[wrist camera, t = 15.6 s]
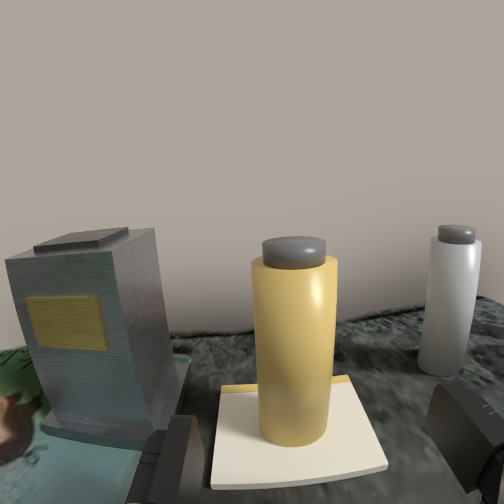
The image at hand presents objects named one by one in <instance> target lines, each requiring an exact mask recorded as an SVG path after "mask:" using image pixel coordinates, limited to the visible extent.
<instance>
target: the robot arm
mask: <svg viewBox="0 0 504 504" xmlns="http://www.w3.org/2000/svg"><path fill="white" fill-rule="evenodd" d="M426 429H427V431H428V433H429V435H430V437H431V438H432V440H433V441H434V443H435V444H436V446H437V447H438V449H439V451H440V452H441V454H442V455H443V457H444V458H445V460H446V462H447V463H448V465H449V466H450V468H451V470H452V471H453V473H454V474H455V476H456V478H457V479H458V481H459V482H460V484H461V486H462V487H463V489H464V491H465V492H466V494H468V493H470V492H472V491H474V490H476V489H479V490H480V494H479V495H478V498H477V502H476V504H504V420H503V419H502V418H501V417H500V416H499V415H498V414H497V412H494V409H493V408H492V407H491V406H490V405H489V406H488V403H487V402H486V401H485V400H484V399H483V398H482V397H481V395H479V394H477V393H475V392H473V391H471V390H469V389H468V390H467V389H466V388H465V387H464V386H463V385H462V384H461V383H460V382H459V381H458V380H452V381H448V382H445V383H441V384H438V385H436V387H435V388H434V391H433V395H432V399H431V402H430V406H429V409H428V413H427V416H426ZM203 469H204V448H203V443H202V439H201V435H200V430H199V426H198V421H197V418H196V416H195V415H172V416H171V418H170V421H169V424H168V428H167V430H155V431H154V432H153V434H152V435H151V436H150V437H149V438H148V439H147V440H146V443H145V445H144V448H143V451H142V454H141V457H140V460H139V464H138V466H137V469H136V472H135V475H134V478H133V481H132V484H131V487H130V490H129V493H128V496H127V499H126V501H125V503H124V504H199V501H200V493H201V485H202V477H203Z"/></svg>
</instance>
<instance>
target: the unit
mask: <svg viewBox="0 0 504 504" xmlns="http://www.w3.org/2000/svg"><path fill="white" fill-rule="evenodd" d="M5 264H6V268H7V274H8V278H9V283H10V287H11V292H12V296H13V300H14V304H15V307H16V311H17V314H18V318H19V322H20V325H21V329H22V332H23V335H24V338H25V341H26V344H27V347H28V350H29V353H30V356H31V359H32V362H33V365H34V367H35V370H36V373H37V375H38V378H39V380H40V383H41V385H42V388H43V390H44V393H45V395H46V397H47V400H48V402H49V404H50V406H51V411H50V412H49V413H48V415H47V416H46V417H45V419H44V420H43V421H42V423H41V426H42V428H43V430H44V432H45V434H48V435H52V436H57V437H61V438H66V439H70V440H75V441H80V442H86V443H91V444H97V445H103V446H110V447H117V448H124V449H132V450H142V451H143V448H144V445H145V443H146V440H147V439H148V438H149V437H150V436H151V435H152V434H153V432H154V431H155V430H167V428H168V424H169V421H170V418H171V416H172V415H180V411H181V408H182V404H183V400H184V397H185V393H186V389H187V386H188V382H189V379H190V375H191V369H190V363H175V360H174V355H173V350H172V345H171V340H170V334H169V328H168V323H167V317H166V311H165V305H164V298H163V292H162V285H161V278H160V271H159V263H158V255H157V247H156V239H155V230H154V228H146V229H135V230H128V227H123V228H113V229H103V230H94V231H85V232H75V233H69V234H66V235H63V236H60V237H58V238H55V239H52V240H49V241H47V242H44V243H41V244H38V245H36V246H33V249H30V250H28V251H25V252H23V253H20V254H17V255H15V256H13V257H10V258H8V259H5Z"/></svg>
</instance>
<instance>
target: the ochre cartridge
mask: <svg viewBox="0 0 504 504" xmlns="http://www.w3.org/2000/svg"><path fill="white" fill-rule="evenodd" d="M262 249H263V256H261V257H258V258H256V259H254V260H253V261H252V263H251V268H252V286H253V306H254V326H255V345H256V364H257V383H258V402H259V421H260V430H261V433H262V434H263V436H264V437H265V438H266V439H267V440H269V441H270V442H272V443H274V444H277V445H280V446H284V447H301V446H306V445H309V444H311V443H313V442H315V441H317V440H318V439H320V438H321V437H322V436H323V435H324V433H325V431H326V429H327V422H328V413H329V403H330V393H331V382H332V370H333V357H334V342H335V324H336V301H337V260H336V259H335V258H334V257H331V256H328V255H326V241H325V240H323V239H319V238H314V237H280V238H273V239H269V240H266V241H264V242H263V243H262Z"/></svg>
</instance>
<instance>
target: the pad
mask: <svg viewBox="0 0 504 504" xmlns="http://www.w3.org/2000/svg"><path fill="white" fill-rule="evenodd" d="M387 467H388V461H387V459H386V457H385V455H384V453H383V450H382V448H381V446H380V444H379V442H378V439H377V437H376V435H375V433H374V431H373V428H372V426H371V424H370V422H369V420H368V418H367V415H366V413H365V411H364V409H363V407H362V405H361V403H360V400H359V398H358V396H357V394H356V392H355V390H354V388H353V386H352V384H351V381H350V379H349V377H348V375H342V376H334V377H332V382H331V393H330V403H329V413H328V422H327V429H326V431H325V433H324V435H323V436H322V437H321V438H320V439H318V440H317V441H315V442H313V443H311V444H309V445H306V446H301V447H284V446H280V445H277V444H274V443H272V442H270V441H269V440H267V439H266V438H265V437H264V436H263V434H262V433H261V430H260V421H259V402H258V384H246V385H222V387H221V396H220V405H219V413H218V421H217V430H216V439H215V447H214V456H213V465H212V474H211V483H210V484H211V488H212V490H245V489H267V488H281V487H292V486H301V485H309V484H317V483H324V482H330V481H336V480H342V479H347V478H353V477H358V476H362V475H367V474H372V473H376V472H380V471H384V470H387Z"/></svg>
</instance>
